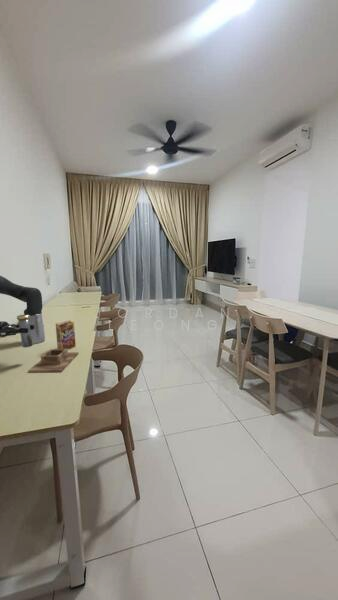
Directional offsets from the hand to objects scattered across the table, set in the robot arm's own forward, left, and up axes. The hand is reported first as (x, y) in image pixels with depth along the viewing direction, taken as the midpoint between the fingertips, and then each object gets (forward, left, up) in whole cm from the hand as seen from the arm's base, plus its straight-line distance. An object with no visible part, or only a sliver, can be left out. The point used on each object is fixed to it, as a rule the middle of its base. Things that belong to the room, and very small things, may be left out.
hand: (30, 328), depth 115 cm
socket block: (0, +10, -17) cm, 20 cm away
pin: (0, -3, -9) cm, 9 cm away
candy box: (-18, +8, -18) cm, 26 cm away
